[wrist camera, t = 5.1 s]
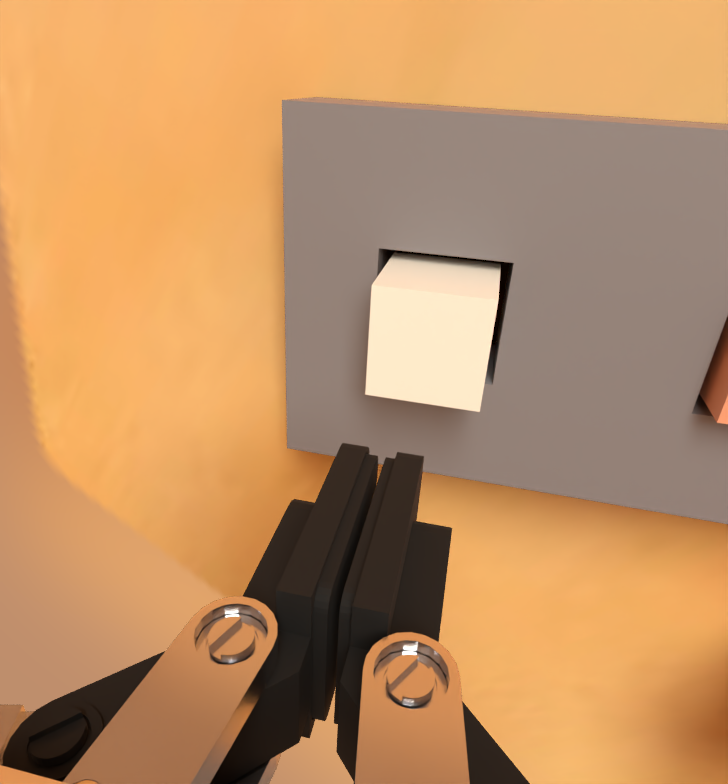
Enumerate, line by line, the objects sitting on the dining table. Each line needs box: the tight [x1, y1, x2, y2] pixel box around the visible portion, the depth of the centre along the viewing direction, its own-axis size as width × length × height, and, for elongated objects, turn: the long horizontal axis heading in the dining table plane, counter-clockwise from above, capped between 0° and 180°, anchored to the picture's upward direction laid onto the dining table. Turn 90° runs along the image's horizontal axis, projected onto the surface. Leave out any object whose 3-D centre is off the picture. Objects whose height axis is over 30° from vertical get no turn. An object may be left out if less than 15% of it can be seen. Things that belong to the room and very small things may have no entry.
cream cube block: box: [365, 252, 501, 412], centre depth 21 cm, size 4×4×4 cm
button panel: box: [282, 97, 728, 524], centre depth 23 cm, size 14×24×4 cm, turn 87°
